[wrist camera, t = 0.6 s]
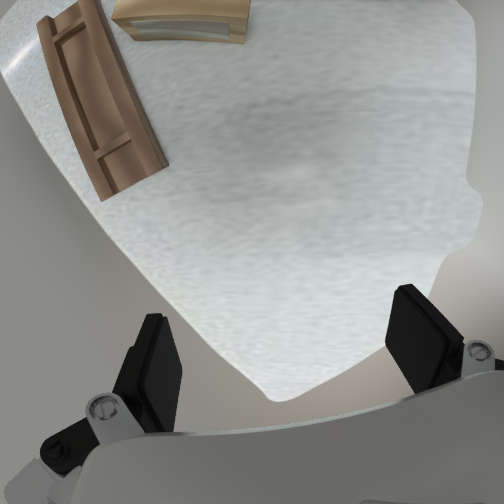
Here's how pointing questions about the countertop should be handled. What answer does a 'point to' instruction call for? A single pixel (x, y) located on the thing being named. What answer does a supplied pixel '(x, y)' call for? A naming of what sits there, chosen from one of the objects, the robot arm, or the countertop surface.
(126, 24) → the tan block
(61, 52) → the walnut ledge
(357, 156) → the countertop surface
